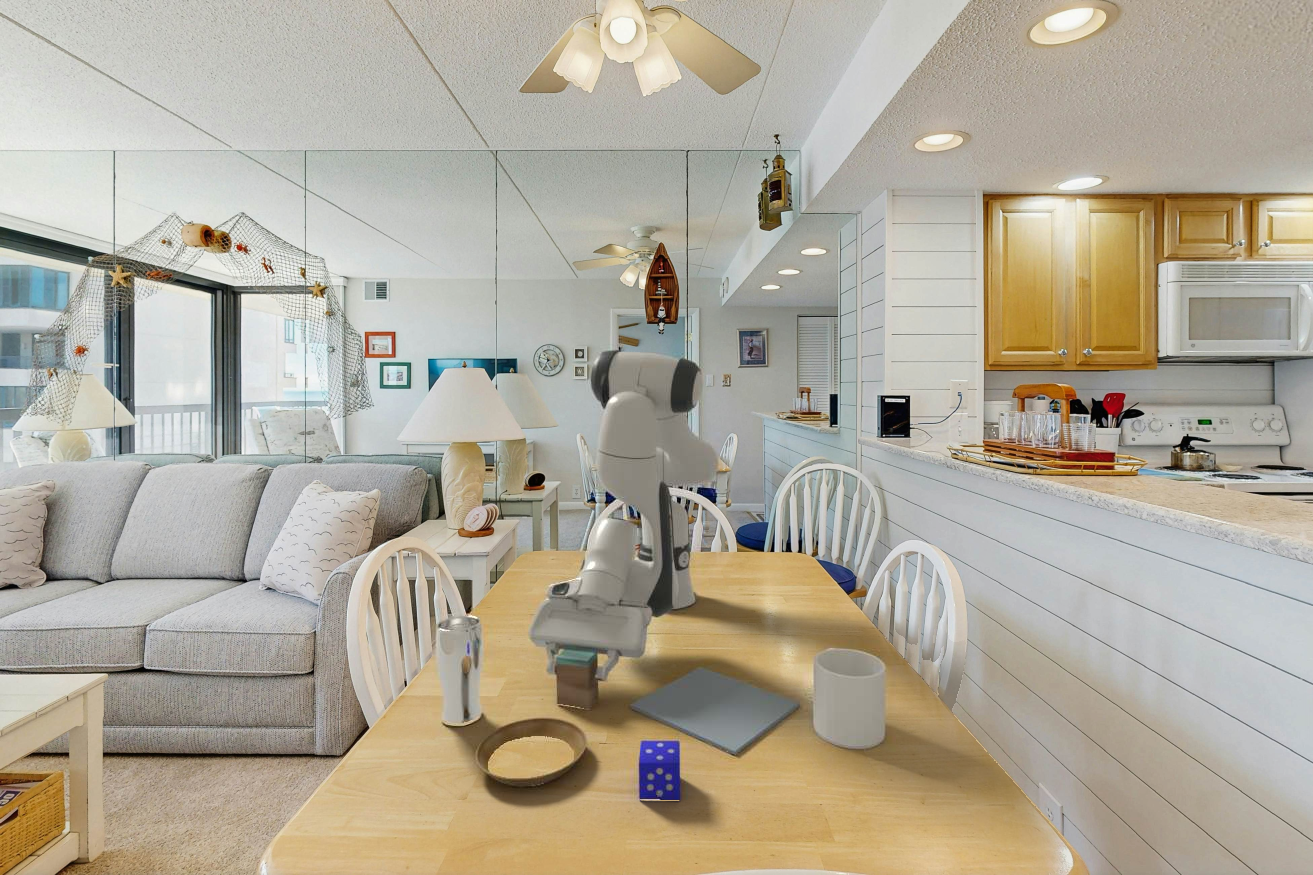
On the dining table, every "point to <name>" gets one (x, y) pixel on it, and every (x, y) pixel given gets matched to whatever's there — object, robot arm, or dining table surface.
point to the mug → (849, 698)
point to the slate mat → (716, 709)
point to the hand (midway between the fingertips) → (575, 676)
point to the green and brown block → (577, 677)
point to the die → (659, 770)
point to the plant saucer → (528, 729)
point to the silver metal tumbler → (460, 667)
